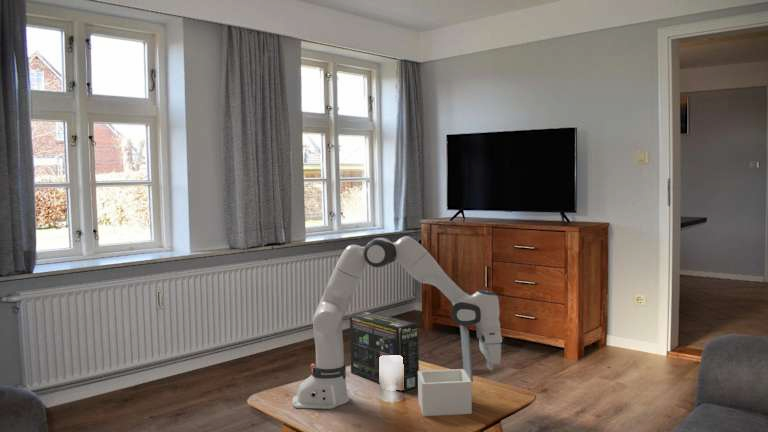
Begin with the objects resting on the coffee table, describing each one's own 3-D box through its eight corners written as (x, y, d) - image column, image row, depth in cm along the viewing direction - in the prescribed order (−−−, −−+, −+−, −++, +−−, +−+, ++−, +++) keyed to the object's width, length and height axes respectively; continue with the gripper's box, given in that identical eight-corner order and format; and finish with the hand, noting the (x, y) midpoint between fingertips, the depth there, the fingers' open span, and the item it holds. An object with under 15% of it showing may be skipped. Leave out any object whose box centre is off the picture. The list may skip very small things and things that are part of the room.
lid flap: (467, 331, 226) (490, 328, 226) (459, 321, 241) (481, 318, 242) (471, 382, 227) (494, 379, 228) (463, 368, 243) (485, 366, 243)
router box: (421, 386, 259) (419, 323, 257) (401, 393, 252) (399, 328, 250) (368, 367, 286) (366, 310, 285) (349, 372, 279) (347, 314, 278)
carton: (423, 416, 227) (422, 384, 226) (418, 401, 242) (417, 371, 241) (471, 413, 228) (471, 381, 227) (464, 398, 243) (463, 368, 242)
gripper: (474, 326, 245) (476, 361, 245) (486, 340, 224) (487, 378, 225) (490, 325, 245) (491, 360, 246) (503, 339, 224) (504, 376, 225)
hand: (490, 368), depth 235 cm, fingers closed
